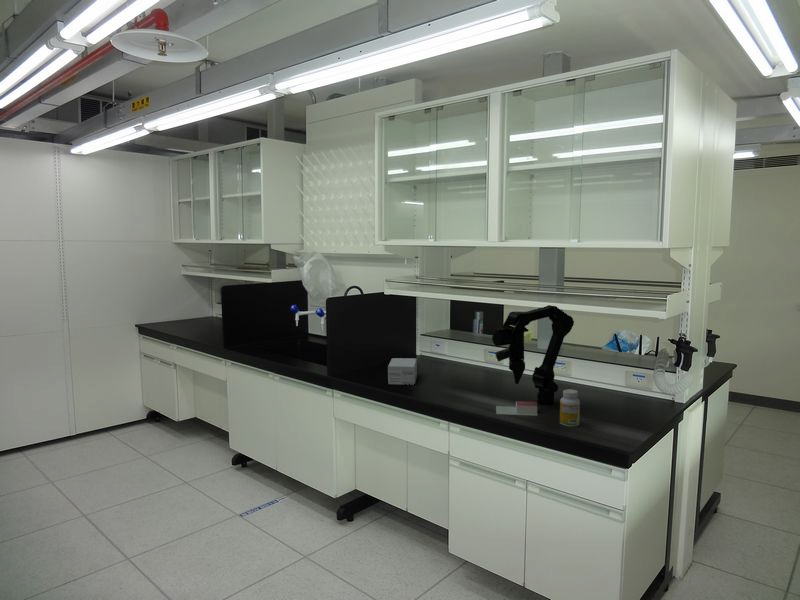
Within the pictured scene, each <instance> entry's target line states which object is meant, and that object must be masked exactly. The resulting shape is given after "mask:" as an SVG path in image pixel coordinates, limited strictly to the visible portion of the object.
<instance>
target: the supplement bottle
mask: <svg viewBox="0 0 800 600" xmlns="http://www.w3.org/2000/svg"><path fill="white" fill-rule="evenodd" d="M578 397H579V393H578V390H576V389H568V388H567V389H564V390H562V397H561V398H560V400H559V424H560V425H563V426H566V427H577V426H579V425H580V418H581V417H580V416H581V415H580V414H581V400H580V399H579V398H578Z"/></svg>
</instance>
